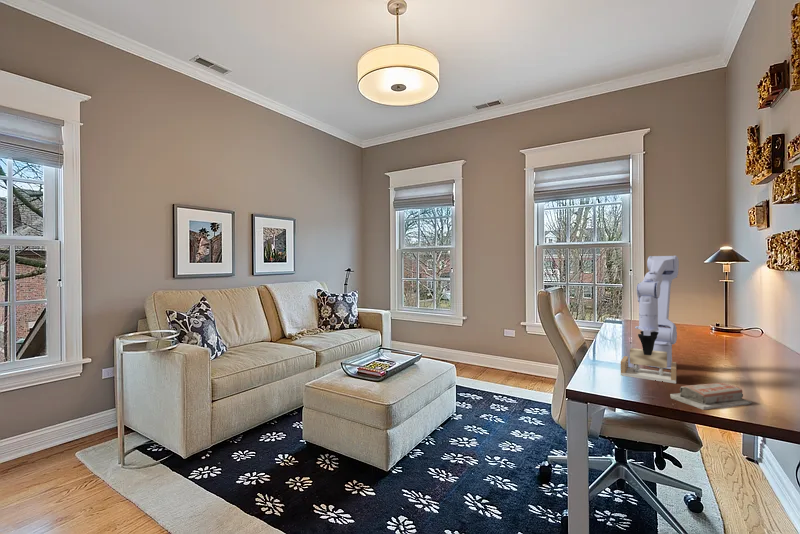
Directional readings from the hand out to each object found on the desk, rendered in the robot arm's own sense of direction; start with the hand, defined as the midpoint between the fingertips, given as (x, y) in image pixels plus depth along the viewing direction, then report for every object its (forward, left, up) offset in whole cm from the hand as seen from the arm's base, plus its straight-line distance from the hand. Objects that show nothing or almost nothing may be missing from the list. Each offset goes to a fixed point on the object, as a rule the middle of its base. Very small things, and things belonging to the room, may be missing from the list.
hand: (648, 352), depth 137 cm
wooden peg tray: (0, 0, -8) cm, 8 cm away
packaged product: (+20, +16, -9) cm, 27 cm away
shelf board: (0, 0, -4) cm, 4 cm away
